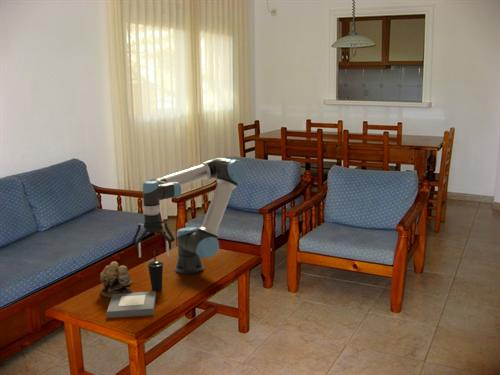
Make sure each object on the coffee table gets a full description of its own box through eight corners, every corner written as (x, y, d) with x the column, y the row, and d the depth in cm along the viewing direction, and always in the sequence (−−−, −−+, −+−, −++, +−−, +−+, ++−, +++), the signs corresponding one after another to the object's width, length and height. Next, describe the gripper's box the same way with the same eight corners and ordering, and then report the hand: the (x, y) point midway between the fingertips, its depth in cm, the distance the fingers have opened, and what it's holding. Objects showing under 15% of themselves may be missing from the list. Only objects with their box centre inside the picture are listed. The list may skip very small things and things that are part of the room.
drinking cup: (146, 289, 272) (143, 251, 268) (159, 285, 277) (157, 247, 273) (154, 294, 266) (151, 254, 262) (167, 290, 271) (165, 251, 267)
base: (156, 297, 263) (155, 290, 262) (153, 314, 243) (152, 307, 242) (113, 299, 261) (112, 293, 260) (107, 318, 241) (106, 311, 240)
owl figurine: (139, 291, 270) (137, 258, 266) (127, 301, 259) (124, 267, 256) (107, 288, 276) (105, 255, 272) (94, 297, 265) (91, 263, 261)
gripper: (124, 216, 259) (127, 259, 263) (178, 214, 261) (180, 257, 265) (126, 212, 266) (129, 254, 270) (178, 210, 268) (180, 252, 273)
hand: (154, 256), depth 268 cm, fingers open, 13 cm apart
